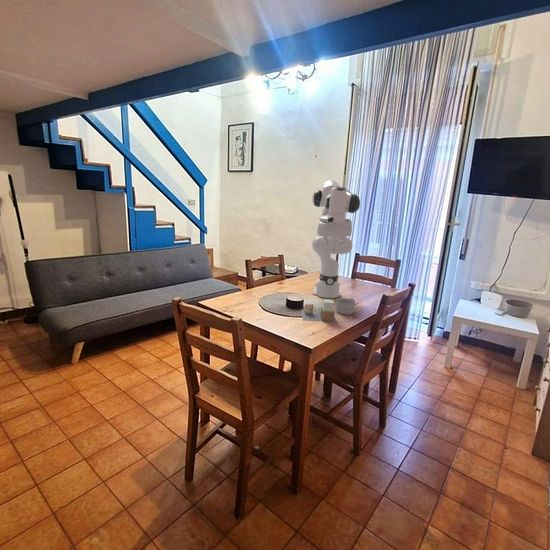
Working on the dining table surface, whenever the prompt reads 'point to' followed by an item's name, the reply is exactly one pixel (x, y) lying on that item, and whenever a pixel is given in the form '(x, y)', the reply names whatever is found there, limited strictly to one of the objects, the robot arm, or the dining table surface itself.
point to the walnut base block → (327, 315)
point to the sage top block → (328, 305)
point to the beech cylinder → (308, 308)
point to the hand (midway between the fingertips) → (333, 244)
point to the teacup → (345, 306)
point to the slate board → (314, 317)
